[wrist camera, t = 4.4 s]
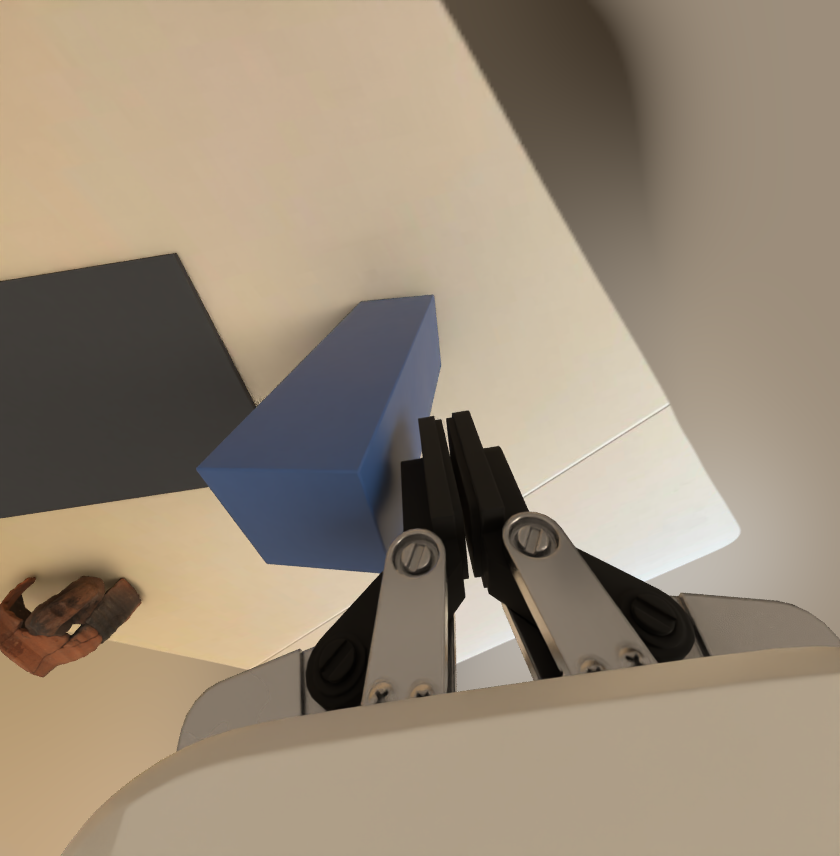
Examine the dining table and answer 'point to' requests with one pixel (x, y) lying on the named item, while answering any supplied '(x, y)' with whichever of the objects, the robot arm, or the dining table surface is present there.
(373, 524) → the blue post
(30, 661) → the brown broken pot
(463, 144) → the dining table surface
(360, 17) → the dining table surface
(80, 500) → the rubber mat
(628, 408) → the dining table surface
